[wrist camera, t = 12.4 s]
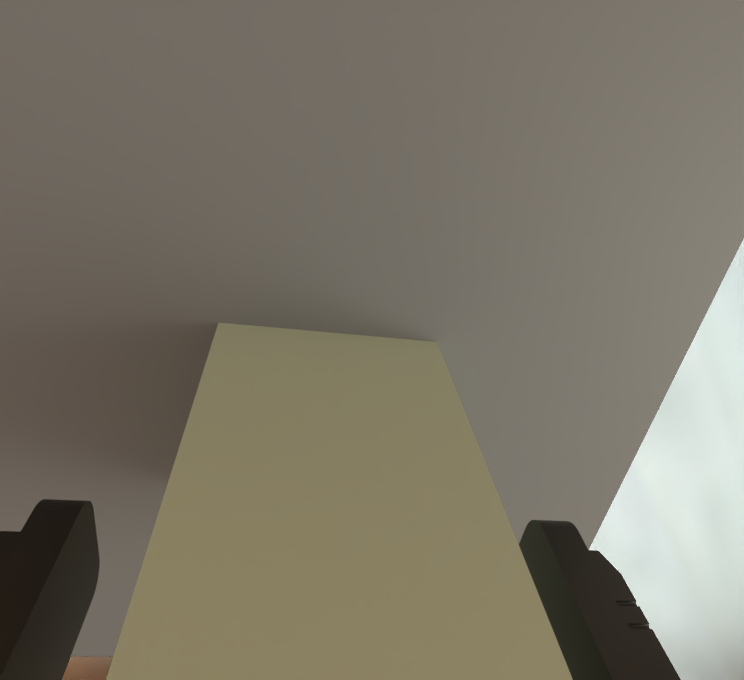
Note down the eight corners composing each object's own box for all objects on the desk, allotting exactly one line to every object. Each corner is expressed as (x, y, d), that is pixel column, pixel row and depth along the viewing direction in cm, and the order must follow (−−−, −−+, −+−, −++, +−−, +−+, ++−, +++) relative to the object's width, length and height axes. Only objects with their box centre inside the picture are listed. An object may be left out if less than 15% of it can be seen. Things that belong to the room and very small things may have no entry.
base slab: (-56, -125, 12) (-269, -213, 7) (691, 24, 15) (850, 22, 10) (56, 529, 21) (-9, 657, 17) (495, 542, 24) (536, 654, 20)
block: (218, 322, 12) (93, 716, 5) (437, 342, 13) (583, 705, 6) (214, 489, 14) (126, 912, 8) (399, 496, 15) (473, 885, 8)
